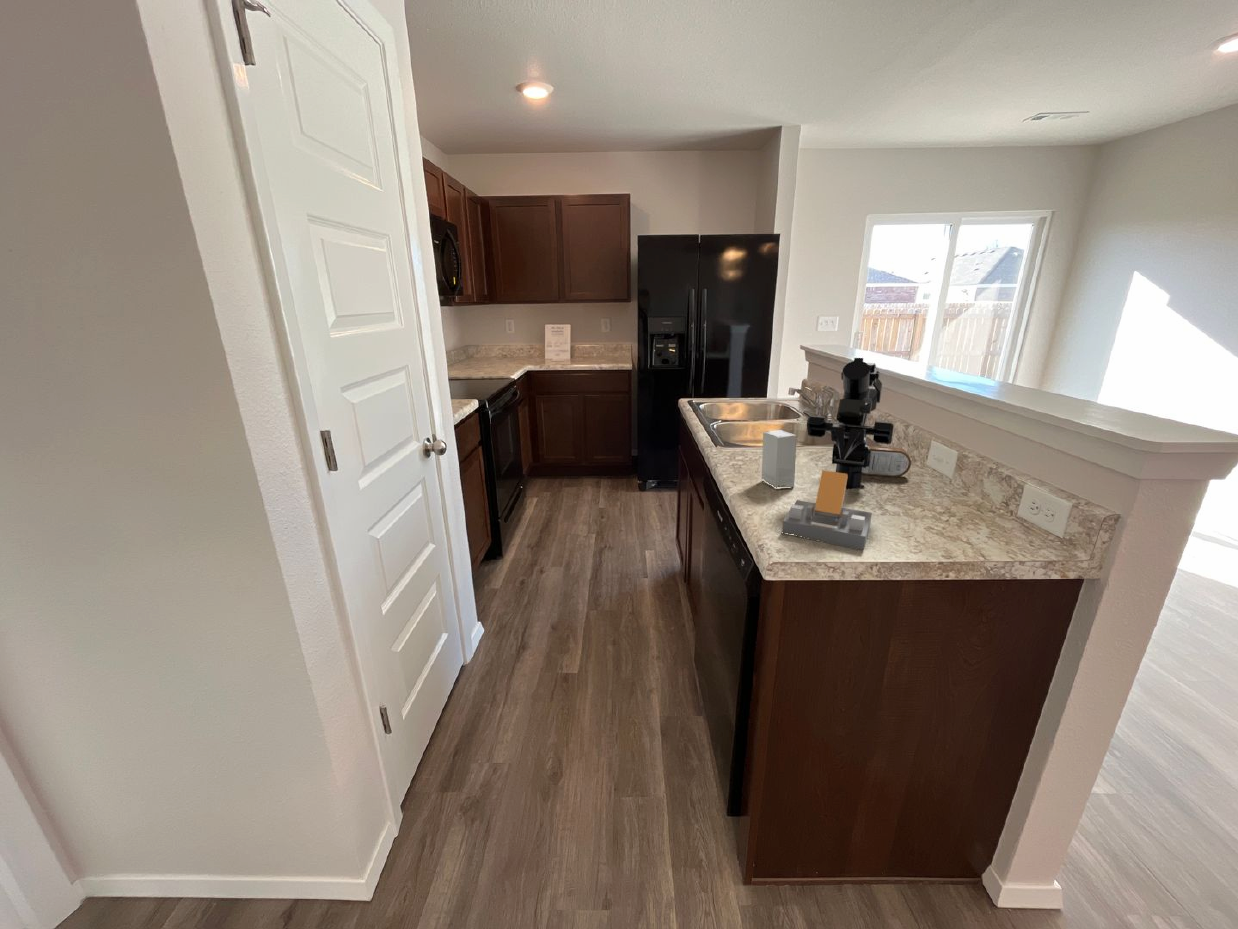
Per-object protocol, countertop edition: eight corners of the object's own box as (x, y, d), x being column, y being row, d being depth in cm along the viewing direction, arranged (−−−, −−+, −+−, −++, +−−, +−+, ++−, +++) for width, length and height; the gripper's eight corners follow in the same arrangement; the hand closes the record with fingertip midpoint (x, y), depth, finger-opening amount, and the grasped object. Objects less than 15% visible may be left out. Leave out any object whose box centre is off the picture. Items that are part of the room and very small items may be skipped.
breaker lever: (814, 516, 105) (823, 473, 107) (839, 520, 103) (847, 477, 105) (813, 513, 103) (822, 470, 105) (839, 518, 101) (847, 473, 103)
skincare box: (794, 488, 131) (799, 435, 127) (774, 490, 130) (778, 437, 126) (778, 479, 139) (782, 428, 135) (759, 480, 138) (762, 430, 134)
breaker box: (795, 511, 116) (798, 490, 114) (870, 525, 108) (873, 502, 106) (781, 533, 105) (783, 510, 103) (863, 550, 97) (867, 525, 95)
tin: (907, 475, 140) (912, 447, 138) (909, 479, 137) (914, 450, 135) (850, 471, 145) (854, 444, 143) (851, 474, 142) (855, 447, 140)
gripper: (811, 383, 118) (798, 436, 112) (899, 387, 108) (889, 446, 103) (814, 409, 126) (802, 460, 121) (895, 415, 117) (886, 471, 111)
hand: (842, 459), depth 114 cm, fingers closed
